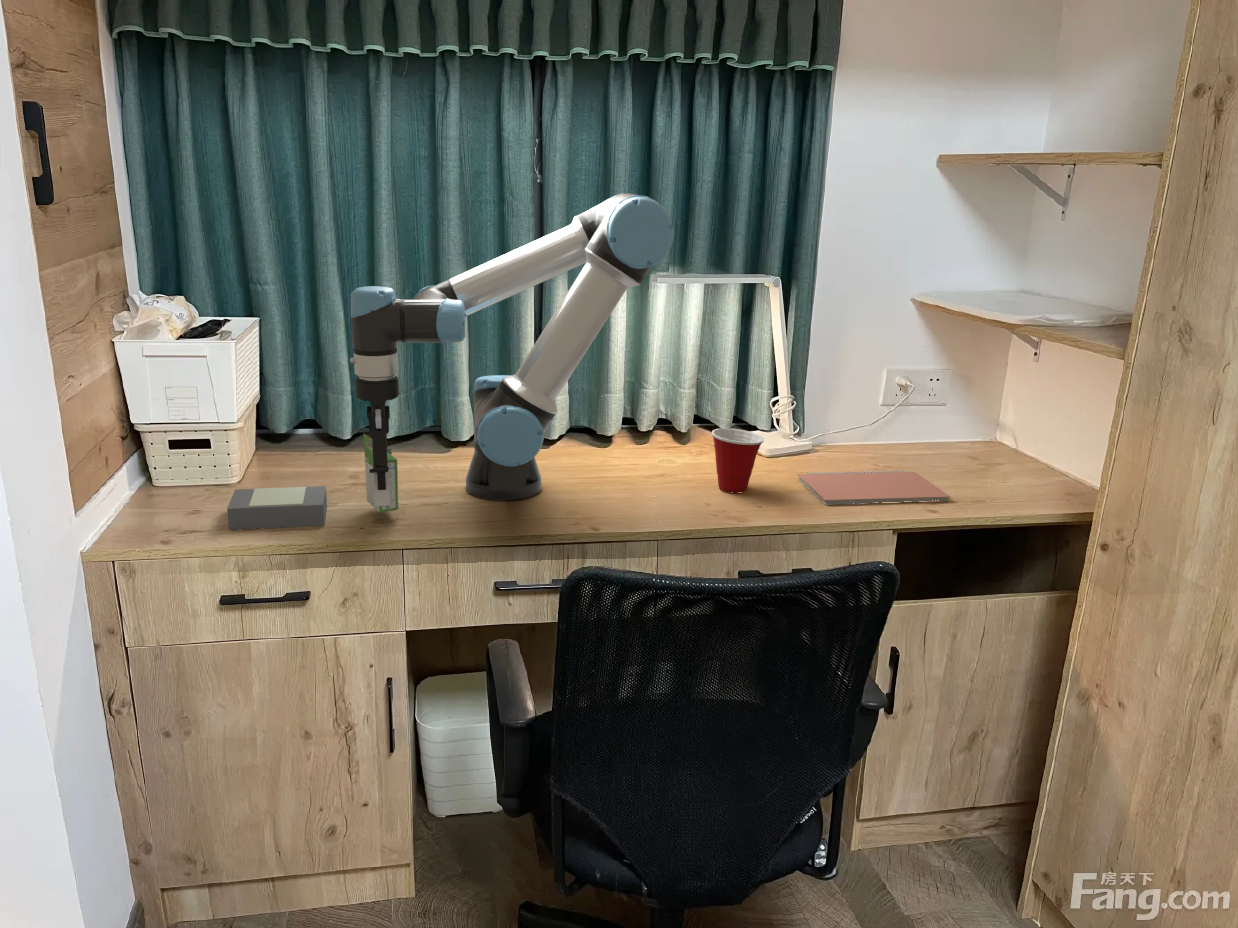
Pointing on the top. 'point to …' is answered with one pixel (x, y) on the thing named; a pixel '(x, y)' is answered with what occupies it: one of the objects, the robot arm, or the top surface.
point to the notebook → (871, 487)
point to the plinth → (277, 507)
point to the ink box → (370, 480)
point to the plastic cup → (735, 457)
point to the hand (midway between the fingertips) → (382, 496)
